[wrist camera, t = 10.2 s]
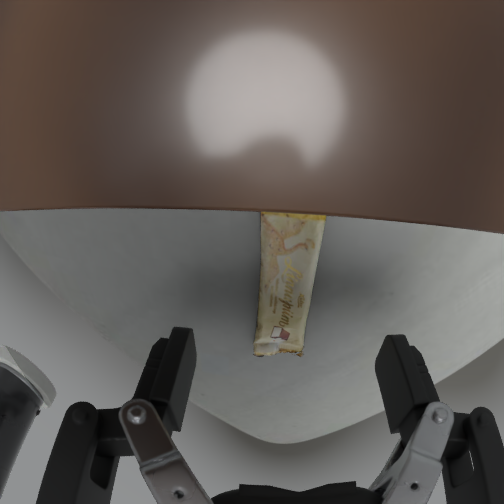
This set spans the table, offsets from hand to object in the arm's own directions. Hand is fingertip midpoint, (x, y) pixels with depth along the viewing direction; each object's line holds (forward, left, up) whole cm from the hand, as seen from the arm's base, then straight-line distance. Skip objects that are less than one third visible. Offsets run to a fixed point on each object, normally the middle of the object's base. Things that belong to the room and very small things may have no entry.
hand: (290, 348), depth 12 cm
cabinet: (-2, +15, -5) cm, 16 cm away
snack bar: (0, 0, -5) cm, 5 cm away
